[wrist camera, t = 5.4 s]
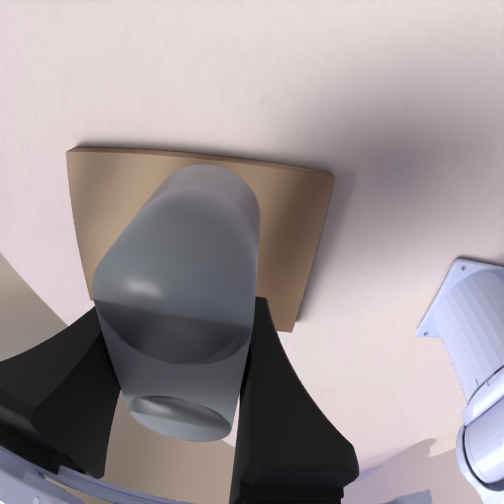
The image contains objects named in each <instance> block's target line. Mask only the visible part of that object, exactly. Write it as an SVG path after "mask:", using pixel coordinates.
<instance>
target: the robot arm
mask: <svg viewBox="0 0 504 504" xmlns="http://www.w3.org/2000/svg"><path fill="white" fill-rule="evenodd" d="M462 266H463V267H462ZM416 335H417V336H418V337H441V339H442V342H443V344H444V346H445V348H446V351H447V353H448V355H449V358H450V360H451V363H452V365H453V367H454V370H455V372H456V375H457V377H458V380H459V383H460V385H461V388H462V390H463V393H464V396H465V399H466V401H467V404H468V406H467V407H466V408H465V409H464V410H463V411H462V412H461V414H462V417H463V420H464V424H463V425H462V426H461V427H460V429H459V431H458V435H457V440H456V456H457V461H458V465H459V468H460V470H461V472H462V474H463V476H464V477H465V478H466V480H468V482H470V483H471V484H472V485H473V486H474V488H475V489H476V490H477V491H478V493H479V495H480V497H481V499H482V501H483V504H504V267H501V266H496V265H490V264H485V263H480V262H475V261H469V260H464V259H457V260H456V261H454V263H453V265H452V267H451V269H450V271H449V273H448V275H447V277H446V279H445V281H444V283H443V284H442V286H441V288H440V290H439V292H438V294H437V296H436V297H435V299H434V301H433V303H432V305H431V306H430V308H429V310H428V311H427V313H426V315H425V317H424V318H423V320H422V322H421V323H420V325H419V327H418V328H417V330H416ZM120 390H121V387H120V385H119V382H118V379H117V376H116V373H115V371H114V368H113V365H112V362H111V359H110V356H109V352H108V349H107V346H106V343H105V339H104V336H103V333H102V329H101V326H100V322H99V318H98V315H97V311H96V307H95V306H94V307H93V308H92V309H91V310H89V311H88V312H87V313H86V314H84V315H83V316H82V317H80V318H79V319H78V320H77V321H75V322H74V323H73V324H71V325H70V326H68V327H67V328H66V329H64V330H63V331H61V332H60V333H58V334H56V335H55V336H53V337H52V338H50V339H48V340H46V341H44V342H43V343H41V344H39V345H37V346H35V347H34V348H32V349H29V350H28V351H26V352H23V353H21V354H19V355H16V356H14V357H12V358H9V359H6V360H4V361H1V362H0V503H1V504H86V503H85V501H84V500H82V499H80V498H78V497H76V496H74V495H72V494H70V493H69V492H67V491H66V490H65V489H63V488H61V487H59V486H57V485H55V484H53V483H51V482H49V481H47V480H46V479H45V477H44V476H46V477H48V478H50V479H52V480H54V481H56V482H59V483H61V484H63V485H65V486H68V487H70V488H72V489H75V490H77V491H80V492H82V493H85V494H88V495H90V496H93V497H96V498H98V499H101V500H104V501H107V502H110V503H113V504H192V503H187V502H181V501H176V500H171V499H166V498H161V497H157V496H153V495H149V494H145V493H141V492H137V491H133V490H130V489H126V488H123V487H120V486H116V485H113V484H110V483H107V482H104V481H101V480H98V479H99V478H102V477H103V476H104V471H105V461H106V454H107V447H108V442H109V436H110V431H111V426H112V421H113V417H114V412H115V408H116V404H117V401H118V397H119V393H120ZM43 475H44V476H43ZM358 476H359V466H358V461H357V457H356V453H355V450H354V447H353V445H352V444H351V443H350V442H349V441H348V440H347V439H346V438H345V437H344V436H343V435H342V434H341V433H340V432H339V431H338V430H337V429H336V428H335V427H334V426H333V425H332V423H331V422H330V421H329V420H328V419H327V418H326V416H325V415H324V414H323V413H322V411H321V410H320V409H319V407H318V406H317V405H316V403H315V402H314V401H313V399H312V398H311V397H310V395H309V394H308V392H307V391H306V389H305V388H304V386H303V385H302V383H301V381H300V380H299V378H298V376H297V375H296V373H295V371H294V369H293V367H292V365H291V363H290V361H289V359H288V357H287V355H286V353H285V351H284V349H283V346H282V344H281V342H280V339H279V337H278V334H277V332H276V329H275V326H274V323H273V320H272V317H271V313H270V310H269V305H268V300H267V299H266V298H265V297H257V296H255V310H254V322H253V330H252V334H251V339H250V344H249V349H248V354H247V359H246V364H245V368H244V373H243V378H242V383H241V387H240V407H239V420H238V430H237V439H236V448H235V458H234V466H233V474H232V482H231V490H230V498H229V504H341V498H343V496H344V492H343V487H345V486H346V485H348V484H349V483H351V482H353V481H354V480H355V479H356V478H357V477H358ZM381 504H432V498H431V492H430V490H425V491H421V492H417V493H412V494H408V495H404V496H400V497H397V498H394V499H392V500H390V501H389V502H387V503H381Z"/></svg>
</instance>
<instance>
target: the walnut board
mask: <svg viewBox="0 0 504 504" xmlns="http://www.w3.org/2000/svg"><path fill="white" fill-rule="evenodd" d="M66 159H67V170H68V180H69V189H70V197H71V205H72V212H73V218H74V225H75V230H76V236H77V242H78V247H79V252H80V257H81V262H82V266H83V271H84V275H85V280H86V284H87V288H88V292H89V296H90V300H93V301H94V299H93V293H92V281H93V275H94V272H95V270H96V267H97V266H98V264H99V262H100V261H101V259H102V258H103V257H104V255H105V254H106V253H107V251H108V250H109V249H110V247H111V246H112V245H113V243H114V242H115V241H116V239H117V238H118V237H119V235H120V234H121V233H122V231H123V230H124V229H125V228H126V226H127V225H128V224H129V223H130V221H131V220H132V219H133V217H134V216H135V215H136V214H137V213H138V211H139V210H140V209H141V208H142V206H143V205H144V204H145V203H146V202H147V200H148V199H149V198H150V197H151V196H152V194H153V193H154V192H155V191H156V190H157V188H158V187H159V186H160V185H161V184H162V183H163V181H164V180H165V179H166V178H167V177H168V176H170V175H171V174H172V173H174V172H175V171H177V170H179V169H181V168H184V167H187V166H191V165H199V164H207V165H214V166H219V167H222V168H225V169H227V170H229V171H231V172H233V173H234V174H236V175H238V176H239V177H240V178H241V179H243V180H244V181H245V182H246V183H247V184H248V186H249V187H250V188H251V190H252V191H253V193H254V194H255V196H256V198H257V201H258V204H259V208H260V215H261V221H260V236H259V251H258V266H257V281H256V295H255V296H257V297H265V298H266V299H267V300H268V305H269V310H270V313H271V317H272V320H273V323H274V326H275V329H276V331H282V332H292V330H293V327H294V324H295V321H296V318H297V315H298V311H299V308H300V305H301V302H302V298H303V295H304V292H305V288H306V285H307V281H308V278H309V274H310V271H311V268H312V264H313V260H314V257H315V253H316V250H317V246H318V242H319V239H320V235H321V231H322V228H323V224H324V220H325V216H326V212H327V208H328V204H329V200H330V196H331V192H332V188H333V184H334V180H335V178H334V176H333V174H332V173H330V172H325V171H320V170H314V169H308V168H302V167H296V166H290V165H284V164H278V163H271V162H264V161H257V160H250V159H242V158H234V157H225V156H217V155H207V154H197V153H186V152H174V151H161V150H145V149H126V148H94V147H74V148H72V149H70V150H68V151H66Z"/></svg>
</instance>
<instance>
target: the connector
mask: <svg viewBox="0 0 504 504" xmlns="http://www.w3.org/2000/svg"><path fill="white" fill-rule="evenodd" d="M260 221H261V215H260V208H259V204H258V201H257V198H256V196H255V194H254V193H253V191H252V190H251V188H250V187H249V186H248V184H247V183H246V182H245V181H244V180H243V179H241V178H240V177H239V176H238V175H236V174H234V173H233V172H231V171H229V170H227V169H225V168H222V167H219V166H214V165H207V164H199V165H191V166H187V167H184V168H181V169H179V170H177V171H175V172H174V173H172V174H171V175H170V176H168V177H167V178H166V179H165V180H164V181H163V183H162V184H161V185H160V186H159V187H158V188H157V190H156V191H155V192H154V193H153V194H152V196H151V197H150V198H149V199H148V200H147V202H146V203H145V204H144V205H143V206H142V208H141V209H140V210H139V211H138V213H137V214H136V215H135V216H134V217H133V219H132V220H131V221H130V223H129V224H128V225H127V226H126V228H125V229H124V230H123V231H122V233H121V234H120V235H119V237H118V238H117V239H116V241H115V242H114V243H113V245H112V246H111V247H110V249H109V250H108V251H107V253H106V254H105V255H104V257H103V258H102V259H101V261H100V262H99V264H98V266H97V267H96V270H95V272H94V275H93V281H92V293H93V299H94V303H95V307H96V311H97V315H98V318H99V322H100V326H101V329H102V333H103V336H104V339H105V343H106V346H107V349H108V352H109V356H110V359H111V362H112V365H113V368H114V371H115V373H116V376H117V379H118V382H119V385H120V387H121V390H122V393H123V395H124V398H125V401H126V403H127V406H128V408H129V411H130V413H131V414H132V416H133V417H134V418H135V419H136V420H137V421H138V422H140V423H141V424H142V425H144V426H146V427H147V428H149V429H151V430H153V431H155V432H157V433H160V434H162V435H165V436H168V437H171V438H175V439H180V440H186V441H194V442H208V441H216V440H219V439H222V438H225V437H226V436H228V435H229V434H230V432H231V430H232V425H233V420H234V416H235V411H236V406H237V402H238V397H239V392H240V387H241V383H242V378H243V373H244V368H245V364H246V359H247V354H248V349H249V344H250V339H251V334H252V330H253V322H254V310H255V295H256V281H257V266H258V251H259V236H260Z"/></svg>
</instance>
